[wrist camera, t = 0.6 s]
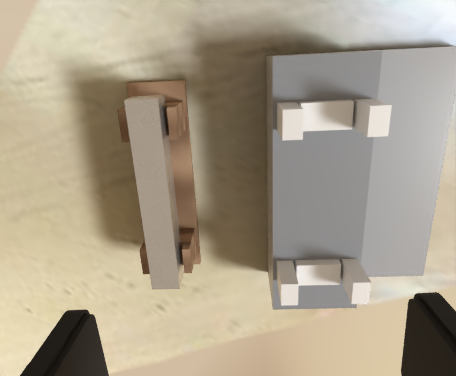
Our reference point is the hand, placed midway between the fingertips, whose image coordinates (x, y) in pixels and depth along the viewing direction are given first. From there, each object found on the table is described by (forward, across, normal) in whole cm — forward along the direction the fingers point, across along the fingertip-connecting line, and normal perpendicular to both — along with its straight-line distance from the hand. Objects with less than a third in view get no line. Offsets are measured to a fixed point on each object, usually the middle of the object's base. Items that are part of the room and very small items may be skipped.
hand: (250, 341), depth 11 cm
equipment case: (+30, -12, +5) cm, 33 cm away
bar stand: (+31, +9, +4) cm, 32 cm away
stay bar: (+25, +9, +4) cm, 27 cm away
